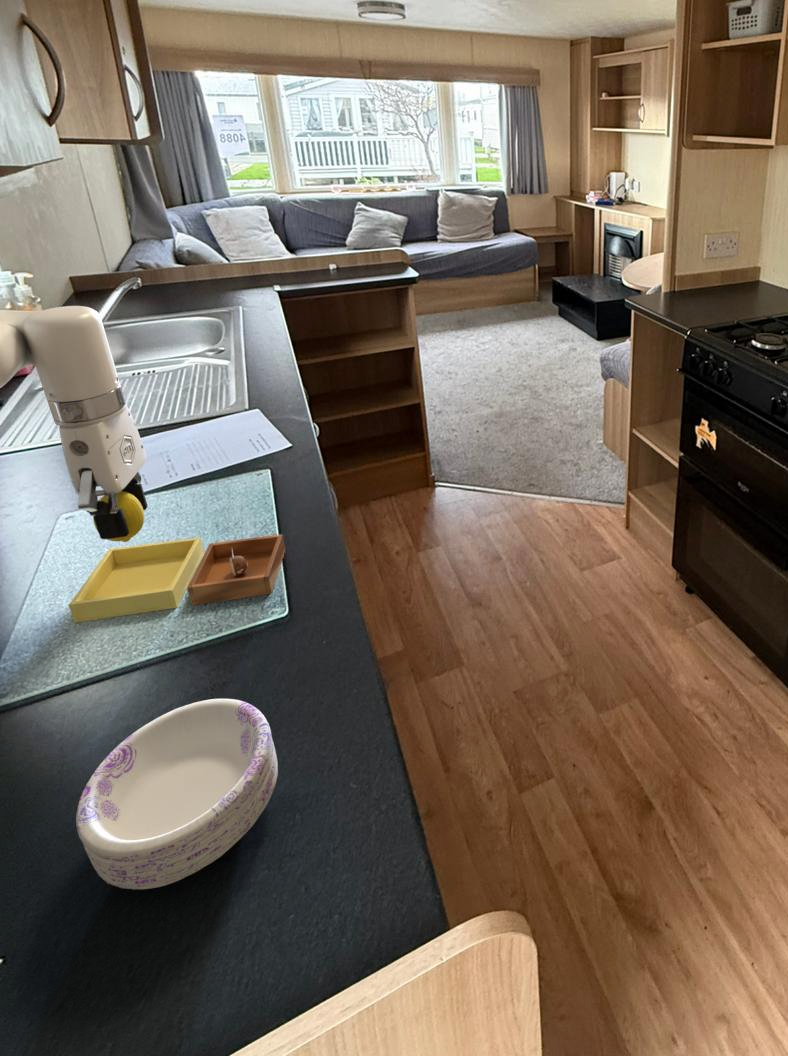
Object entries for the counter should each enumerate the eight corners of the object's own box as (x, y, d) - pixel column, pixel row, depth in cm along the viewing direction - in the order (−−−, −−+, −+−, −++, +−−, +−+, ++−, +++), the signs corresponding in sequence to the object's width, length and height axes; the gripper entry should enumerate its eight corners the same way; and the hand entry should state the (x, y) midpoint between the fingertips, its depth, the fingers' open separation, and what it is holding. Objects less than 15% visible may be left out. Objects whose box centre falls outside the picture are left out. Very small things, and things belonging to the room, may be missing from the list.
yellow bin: (74, 623, 86) (68, 605, 85) (114, 565, 97) (109, 548, 96) (177, 607, 89) (172, 590, 88) (204, 553, 100) (200, 537, 99)
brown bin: (191, 605, 89) (186, 588, 88) (213, 559, 99) (209, 543, 98) (271, 593, 92) (268, 576, 91) (285, 550, 101) (282, 533, 100)
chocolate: (250, 576, 94) (244, 554, 93) (232, 581, 93) (227, 559, 92) (248, 565, 97) (243, 542, 95) (232, 570, 96) (226, 547, 94)
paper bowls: (99, 803, 64) (76, 745, 61) (268, 726, 72) (255, 671, 69) (97, 957, 52) (69, 894, 49) (299, 844, 60) (284, 784, 57)
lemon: (134, 525, 94) (119, 477, 91) (159, 535, 92) (145, 486, 89) (93, 547, 89) (76, 497, 86) (118, 557, 87) (102, 507, 84)
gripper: (90, 430, 76) (130, 557, 82) (147, 376, 91) (177, 487, 98) (15, 437, 74) (62, 566, 81) (86, 381, 90) (121, 493, 96)
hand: (125, 522), depth 89 cm, fingers closed on lemon, 5 cm apart
